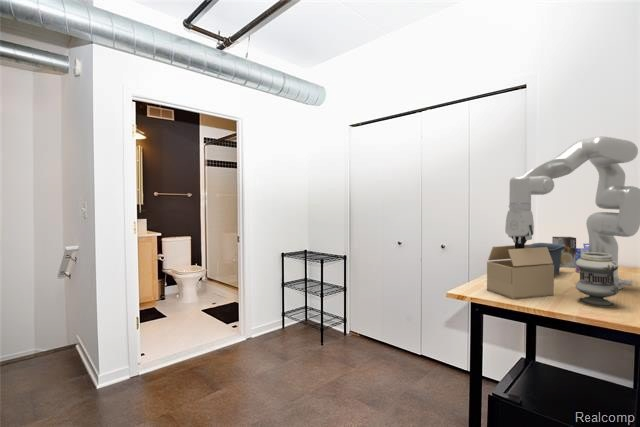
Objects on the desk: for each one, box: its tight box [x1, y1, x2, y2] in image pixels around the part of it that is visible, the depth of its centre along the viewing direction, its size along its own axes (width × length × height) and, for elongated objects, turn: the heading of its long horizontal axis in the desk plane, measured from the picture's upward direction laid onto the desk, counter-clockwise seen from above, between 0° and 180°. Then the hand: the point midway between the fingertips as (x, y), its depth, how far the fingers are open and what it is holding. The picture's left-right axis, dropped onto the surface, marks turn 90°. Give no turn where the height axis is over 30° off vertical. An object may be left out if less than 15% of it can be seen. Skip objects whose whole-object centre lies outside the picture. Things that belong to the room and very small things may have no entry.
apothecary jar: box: [575, 252, 620, 308], centre depth 122 cm, size 12×12×18 cm
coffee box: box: [551, 236, 577, 268], centre depth 185 cm, size 9×6×16 cm
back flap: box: [487, 244, 530, 261], centre depth 142 cm, size 18×7×1 cm
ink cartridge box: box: [575, 243, 589, 274], centre depth 169 cm, size 10×6×14 cm, turn 78°
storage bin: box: [529, 242, 565, 275], centre depth 169 cm, size 21×16×14 cm
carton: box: [486, 259, 555, 300], centre depth 137 cm, size 20×14×12 cm
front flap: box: [508, 247, 553, 266], centre depth 131 cm, size 18×7×1 cm
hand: (519, 252), depth 136 cm, fingers closed
